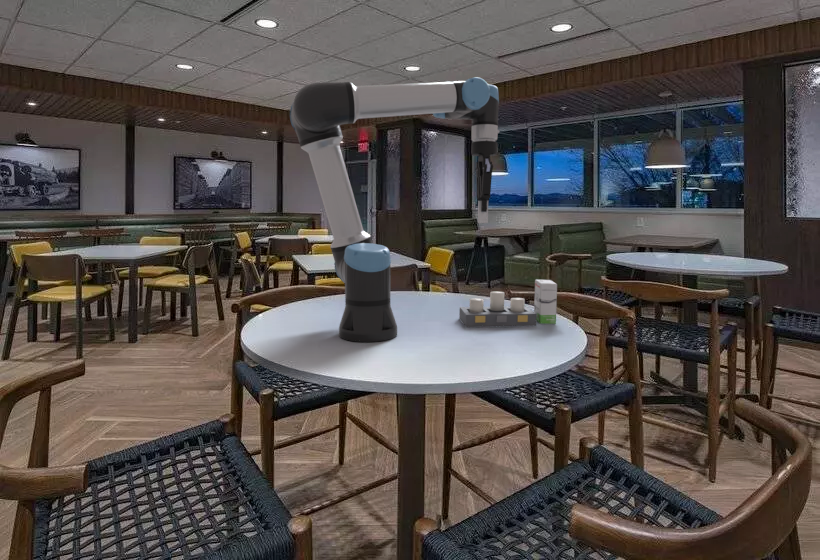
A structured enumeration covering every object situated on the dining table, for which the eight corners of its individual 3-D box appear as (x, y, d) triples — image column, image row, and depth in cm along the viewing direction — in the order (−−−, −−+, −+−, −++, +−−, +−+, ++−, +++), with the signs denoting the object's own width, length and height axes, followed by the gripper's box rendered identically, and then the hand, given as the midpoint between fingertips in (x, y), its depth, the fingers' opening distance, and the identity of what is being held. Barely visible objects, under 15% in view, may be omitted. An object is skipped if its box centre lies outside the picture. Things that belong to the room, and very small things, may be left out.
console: (466, 327, 144) (466, 314, 144) (459, 318, 155) (459, 307, 155) (536, 326, 146) (537, 313, 145) (525, 317, 157) (525, 306, 156)
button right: (512, 317, 149) (512, 300, 148) (508, 314, 153) (509, 297, 152) (525, 317, 149) (526, 300, 148) (521, 314, 153) (522, 297, 152)
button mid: (491, 311, 148) (492, 293, 147) (488, 308, 152) (488, 291, 151) (505, 310, 148) (505, 293, 147) (502, 308, 152) (502, 291, 151)
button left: (470, 318, 148) (471, 300, 147) (468, 315, 152) (468, 298, 151) (484, 317, 148) (484, 300, 147) (481, 315, 152) (482, 298, 151)
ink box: (556, 324, 148) (558, 283, 147) (539, 324, 148) (540, 283, 147) (549, 317, 157) (551, 279, 155) (533, 317, 157) (534, 279, 155)
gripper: (502, 138, 145) (500, 223, 148) (492, 144, 158) (490, 222, 161) (476, 138, 144) (474, 223, 148) (467, 144, 157) (466, 222, 160)
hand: (482, 222), depth 154 cm, fingers closed
